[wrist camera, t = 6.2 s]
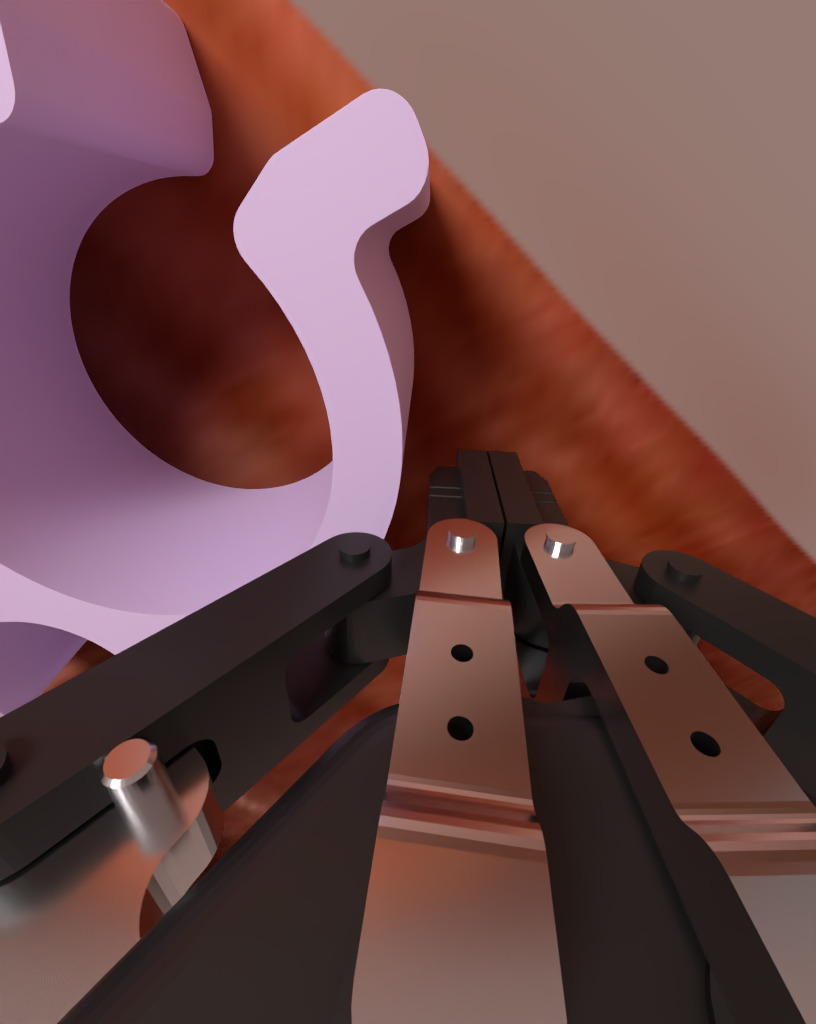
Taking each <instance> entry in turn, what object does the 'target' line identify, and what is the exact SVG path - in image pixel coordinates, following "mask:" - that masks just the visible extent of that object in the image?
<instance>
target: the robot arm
mask: <svg viewBox="0 0 816 1024" xmlns="http://www.w3.org/2000/svg"><path fill="white" fill-rule="evenodd" d="M700 638H702V639H704V640H706V641H707V642H709V643H710V644H712V645H714V646H715V647H717V648H719V649H720V650H722V651H723V652H725V653H727V654H728V655H730V656H731V657H733V658H735V659H736V660H738V661H739V662H741V663H743V664H744V665H746V666H748V667H749V668H751V669H752V670H754V671H756V672H757V673H759V674H760V675H762V676H764V677H765V678H767V679H768V680H770V681H771V682H772V683H773V684H775V685H776V687H777V688H778V689H779V690H780V692H781V693H782V695H783V697H784V701H785V706H784V709H782V710H779V711H770V710H766V709H763V708H761V707H759V706H757V705H755V704H754V703H752V702H751V701H749V700H748V699H746V698H745V697H743V696H742V695H740V694H739V693H737V692H736V691H734V690H733V689H731V688H730V687H728V686H727V685H725V684H724V683H723V682H722V681H721V679H720V678H719V677H718V675H717V674H716V673H715V671H714V670H713V669H712V667H711V666H710V665H709V663H708V662H707V660H706V659H705V658H704V656H703V655H702V654H701V652H700V651H699V650H698V648H697V647H696V645H697V643H698V642H699V640H700ZM405 654H407V657H406V664H405V670H404V677H403V683H402V690H401V696H400V703H399V704H396V705H393V706H390V707H387V708H385V709H382V710H380V711H378V712H376V713H374V714H372V715H370V716H369V717H367V718H365V719H364V720H362V721H360V722H359V723H357V724H356V725H355V726H353V727H352V728H351V729H349V730H348V731H347V732H346V733H344V734H343V735H342V736H341V737H340V738H339V739H338V740H337V741H336V742H335V743H334V744H333V745H332V746H331V747H330V748H329V749H328V750H327V751H326V752H325V753H324V754H323V755H322V756H321V757H320V758H319V759H318V760H317V761H316V762H315V763H314V764H313V765H312V766H311V767H310V768H309V769H308V770H307V771H306V772H305V773H304V774H303V775H302V776H301V777H300V778H299V779H298V780H297V781H296V782H295V783H294V784H293V785H292V786H291V787H290V789H289V790H288V791H287V792H286V793H285V794H284V795H283V796H282V797H281V798H280V799H279V800H278V801H277V802H276V803H275V804H274V805H273V806H272V807H271V808H270V809H269V810H268V811H267V812H266V813H265V814H264V815H263V816H262V817H261V818H260V819H259V820H258V821H257V822H256V823H255V824H254V825H253V826H252V827H251V828H250V829H249V830H248V831H247V832H246V833H245V834H244V835H243V836H242V837H241V838H240V839H239V840H238V841H237V842H236V843H235V844H234V845H233V846H232V847H231V848H230V849H229V850H228V851H227V852H226V853H225V854H224V855H223V856H222V857H221V858H220V859H219V860H218V861H217V862H216V863H215V864H214V865H213V866H212V867H211V868H210V869H209V870H208V871H207V872H206V873H205V874H204V875H203V876H202V877H201V878H200V879H199V880H198V881H197V882H196V884H195V885H194V886H193V887H192V888H191V889H190V890H189V891H188V892H187V893H186V891H187V890H188V889H189V887H190V886H191V885H192V884H193V882H194V881H195V880H196V879H197V878H198V876H199V875H200V874H201V873H202V872H203V871H204V869H205V868H206V867H207V865H208V864H209V862H210V861H211V859H212V858H213V856H214V854H215V852H216V850H217V848H218V845H219V842H220V839H221V836H222V831H223V812H224V811H225V810H226V809H227V808H229V807H230V806H231V805H232V804H233V803H234V802H235V801H236V800H238V799H239V798H240V797H241V796H242V795H243V794H244V793H245V792H247V791H248V790H249V789H250V788H251V787H252V786H253V785H254V784H256V783H257V782H258V781H259V780H260V779H261V778H262V777H264V776H265V775H266V774H267V773H268V772H269V771H270V770H271V769H273V768H274V767H275V766H276V765H277V764H278V763H279V762H280V761H282V760H283V759H284V758H285V757H286V756H287V755H288V754H289V753H291V752H292V751H293V750H294V749H295V748H296V747H297V746H298V745H300V744H301V743H302V742H303V741H304V740H305V739H306V738H308V737H309V736H310V735H311V734H312V733H313V732H314V731H315V730H317V729H318V728H319V727H320V726H321V725H322V724H323V723H324V722H326V721H327V720H328V719H329V718H330V717H331V716H332V715H333V714H335V713H336V712H337V711H338V710H339V709H340V708H341V707H342V706H344V705H345V704H346V703H347V702H348V701H349V700H350V699H352V698H353V697H354V696H355V695H356V694H357V693H358V692H359V691H361V690H362V689H363V688H364V687H365V686H366V685H367V684H368V683H370V682H371V681H372V680H373V679H374V678H375V677H376V676H377V675H379V674H380V673H381V672H382V671H383V670H384V669H385V667H386V666H387V664H388V661H389V658H392V657H396V656H401V655H405ZM185 893H186V894H185ZM184 894H185V895H184ZM0 1024H816V618H814V617H813V616H811V615H809V614H807V613H805V612H803V611H801V610H799V609H797V608H795V607H793V606H791V605H789V604H787V603H785V602H783V601H781V600H779V599H777V598H775V597H773V596H771V595H769V594H767V593H765V592H763V591H761V590H759V589H757V588H755V587H753V586H751V585H749V584H747V583H745V582H743V581H741V580H739V579H737V578H735V577H733V576H731V575H729V574H728V573H726V572H724V571H722V570H720V569H718V568H716V567H714V566H712V565H710V564H708V563H706V562H704V561H702V560H700V559H698V558H695V557H693V556H690V555H687V554H684V553H680V552H676V551H668V550H658V551H653V552H650V553H648V554H646V555H645V556H644V558H643V559H642V562H641V565H640V567H639V568H638V567H634V566H630V565H626V564H622V563H618V562H614V561H611V560H607V559H604V557H603V556H602V554H601V553H600V551H599V550H598V548H597V547H596V545H595V544H594V542H593V541H592V540H591V539H590V538H589V537H588V536H587V535H585V534H584V533H582V532H580V531H578V530H576V529H574V528H571V527H569V526H568V524H567V522H566V520H565V518H564V516H563V514H562V512H561V509H560V507H559V505H558V503H556V499H555V497H554V495H553V494H552V490H551V488H550V486H549V484H548V482H547V481H546V480H545V479H544V478H542V477H541V476H540V475H539V474H537V473H536V472H534V471H523V469H522V467H521V464H520V461H519V459H518V456H517V454H516V453H515V452H499V451H487V452H486V451H478V450H460V449H458V452H457V459H456V467H439V466H438V467H437V468H436V469H435V470H434V471H433V472H432V473H431V474H430V478H429V492H428V506H427V520H426V538H425V539H424V540H422V541H421V542H420V543H418V544H416V545H414V546H411V547H408V548H404V549H399V550H393V551H392V550H391V547H390V546H389V544H388V543H387V542H386V541H385V540H383V539H382V538H380V537H378V536H376V535H373V534H369V533H363V532H350V533H343V534H339V535H336V536H334V537H332V538H330V539H328V540H326V541H324V542H322V543H320V544H319V545H317V546H315V547H313V548H311V549H309V550H308V551H306V552H304V553H302V554H300V555H298V556H296V557H295V558H293V559H291V560H289V561H287V562H285V563H284V564H282V565H280V566H278V567H276V568H274V569H273V570H271V571H269V572H267V573H265V574H263V575H262V576H260V577H258V578H256V579H254V580H252V581H250V582H249V583H247V584H245V585H243V586H241V587H239V588H238V589H236V590H234V591H232V592H230V593H228V594H227V595H225V596H223V597H221V598H219V599H217V600H215V601H214V602H212V603H210V604H208V605H206V606H204V607H203V608H201V609H199V610H197V611H195V612H193V613H192V614H190V615H188V616H186V617H184V618H182V619H181V620H179V621H177V622H175V623H173V624H171V625H169V626H168V627H166V628H164V629H162V630H160V631H158V632H157V633H155V634H153V635H151V636H149V637H147V638H146V639H144V640H142V641H140V642H138V643H136V644H135V645H133V646H131V647H129V648H127V649H125V650H123V651H122V652H120V653H118V654H116V655H114V656H112V657H111V658H109V659H107V660H105V661H103V662H101V663H100V664H98V665H96V666H94V667H92V668H90V669H89V670H87V671H85V672H83V673H81V674H79V675H77V676H76V677H74V678H72V679H70V680H68V681H66V682H65V683H63V684H61V685H59V686H57V687H55V688H54V689H52V690H50V691H48V692H46V693H44V694H42V695H41V696H39V697H37V698H35V699H33V700H31V701H30V702H28V703H26V704H24V705H22V706H20V707H19V708H17V709H15V710H13V711H11V712H9V713H8V714H6V715H4V716H2V717H0Z"/></svg>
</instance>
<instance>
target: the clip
mask: <svg viewBox="0 0 816 1024" xmlns="http://www.w3.org/2000/svg"><path fill="white" fill-rule="evenodd" d="M213 161H214V147H213V127H212V113H211V109H210V105H209V102H208V99H207V96H206V93H205V89H204V86H203V83H202V80H201V77H200V74H199V70H198V67H197V64H196V61H195V58H194V54H193V51H192V48H191V45H190V42H189V39H188V35H187V32H186V29H185V27H184V24H183V22H182V20H181V19H180V17H179V16H178V15H177V13H176V12H175V11H174V10H173V9H172V8H170V7H169V6H168V5H167V4H166V3H165V2H164V1H162V0H0V717H2V716H4V715H6V714H8V713H9V712H11V711H13V710H15V709H17V708H19V707H20V706H22V705H24V704H26V703H28V702H30V701H31V700H33V699H35V698H37V697H39V696H40V695H41V694H42V693H43V691H44V690H45V689H46V688H47V687H48V686H49V684H50V683H51V682H52V681H53V680H54V678H55V677H56V676H57V675H58V674H59V673H60V671H61V670H62V669H63V668H64V667H65V666H66V664H67V663H68V662H69V661H70V660H71V659H72V657H73V656H74V655H75V654H76V653H77V651H78V650H79V649H80V648H81V647H82V646H83V644H84V643H85V642H86V641H87V640H90V641H92V642H94V643H96V644H98V645H99V646H101V647H103V648H105V649H106V650H108V651H110V652H111V653H113V654H114V655H116V654H118V653H120V652H122V651H123V650H125V649H127V648H129V647H131V646H133V645H135V644H136V643H138V642H140V641H142V640H144V639H146V638H147V637H149V636H151V635H153V634H155V633H157V632H158V631H160V630H162V629H164V628H166V627H168V626H169V625H171V624H173V623H175V622H177V621H179V620H181V619H182V618H184V617H186V616H188V615H190V614H192V613H193V612H195V611H197V610H199V609H201V608H203V607H204V606H206V605H208V604H210V603H212V602H214V601H215V600H217V599H219V598H221V597H223V596H225V595H227V594H228V593H230V592H232V591H234V590H236V589H238V588H239V587H241V586H243V585H245V584H247V583H249V582H250V581H252V580H254V579H256V578H258V577H260V576H262V575H263V574H265V573H267V572H269V571H271V570H273V569H274V568H276V567H278V566H280V565H282V564H284V563H285V562H287V561H289V560H291V559H293V558H295V557H296V556H298V555H300V554H302V553H304V552H306V551H308V550H309V549H311V548H313V547H315V546H317V545H319V544H320V543H322V542H324V541H326V540H328V539H330V538H332V537H334V536H336V535H339V534H343V533H350V532H363V533H369V534H373V535H376V536H378V537H380V538H382V539H384V537H385V535H386V533H387V530H388V527H389V525H390V522H391V519H392V516H393V512H394V508H395V505H396V501H397V496H398V491H399V485H400V478H401V471H402V463H403V455H404V448H405V440H406V432H407V425H408V417H409V409H410V402H411V394H412V386H413V377H414V343H413V333H412V326H411V320H410V315H409V311H408V306H407V303H406V299H405V296H404V292H403V289H402V286H401V283H400V281H399V278H398V275H397V273H396V270H395V268H394V266H393V263H392V261H391V258H390V256H389V243H390V240H391V238H392V236H393V235H394V233H395V232H396V231H398V230H399V229H401V228H403V227H404V226H406V225H408V224H409V223H411V222H413V221H415V220H416V219H418V218H420V217H421V216H422V215H423V214H424V213H425V212H426V210H427V208H428V206H429V203H430V179H429V161H428V150H427V147H426V143H425V140H424V137H423V134H422V131H421V128H420V126H419V123H418V120H417V118H416V116H415V114H414V111H413V109H412V108H411V106H410V105H409V104H408V103H407V101H406V100H405V99H404V98H403V97H401V96H400V95H399V94H398V93H395V92H393V91H391V90H387V89H374V90H370V91H368V92H366V93H364V94H362V95H361V96H359V97H358V98H356V99H355V100H354V101H352V102H351V103H349V104H348V105H346V106H345V107H343V108H342V109H340V110H339V111H337V112H336V113H334V114H333V115H331V116H330V117H328V118H327V119H325V120H324V121H322V122H321V123H320V124H318V125H317V126H315V127H314V128H312V129H311V130H309V131H308V132H306V133H305V134H303V135H302V136H300V137H299V138H297V139H296V140H294V141H293V142H291V143H290V144H289V145H287V146H286V147H284V148H283V149H281V150H280V151H278V152H277V153H275V154H274V155H273V156H272V157H271V158H270V159H269V161H268V162H267V164H266V165H265V167H264V168H263V170H262V172H261V173H260V175H259V176H258V178H257V180H256V181H255V183H254V184H253V186H252V187H251V189H250V191H249V192H248V194H247V195H246V197H245V199H244V200H243V202H242V203H241V205H240V206H239V208H238V210H237V212H236V215H235V219H234V226H233V232H234V239H235V243H236V246H237V249H238V251H239V253H240V254H241V256H242V258H243V259H244V260H245V262H246V263H247V264H248V265H249V267H250V268H251V269H252V270H253V271H254V273H255V274H256V275H257V276H258V277H259V279H260V280H261V281H262V282H263V283H264V285H265V286H266V288H267V289H268V290H269V292H270V293H271V295H272V296H273V297H274V299H275V300H276V301H277V303H278V304H279V306H280V307H281V309H282V310H283V312H284V314H285V315H286V317H287V318H288V320H289V322H290V323H291V325H292V326H293V328H294V330H295V332H296V334H297V336H298V338H299V339H300V341H301V343H302V345H303V347H304V349H305V351H306V353H307V356H308V358H309V360H310V362H311V365H312V367H313V369H314V372H315V375H316V377H317V380H318V383H319V386H320V388H321V391H322V395H323V399H324V402H325V406H326V409H327V414H328V419H329V424H330V429H331V438H332V446H333V461H332V462H331V463H330V464H328V465H327V466H326V467H324V468H323V469H322V470H320V471H319V472H317V473H315V474H314V475H312V476H310V477H308V478H306V479H304V480H301V481H298V482H296V483H293V484H289V485H286V486H281V487H276V488H269V489H239V488H232V487H226V486H221V485H217V484H213V483H210V482H207V481H204V480H201V479H198V478H196V477H193V476H191V475H189V474H186V473H184V472H182V471H180V470H178V469H176V468H175V467H173V466H171V465H169V464H168V463H166V462H165V461H163V460H161V459H160V458H158V457H157V456H156V455H154V454H153V453H152V452H150V451H149V450H148V449H146V448H145V447H144V446H143V445H142V444H140V443H139V442H138V441H137V440H136V439H135V438H134V437H133V436H132V435H131V434H130V433H129V432H128V431H127V430H126V429H125V428H124V427H123V426H122V425H121V424H120V423H119V422H118V420H117V419H116V418H115V417H114V416H113V414H112V413H111V412H110V410H109V409H108V408H107V406H106V405H105V403H104V402H103V400H102V399H101V398H100V396H99V394H98V393H97V391H96V389H95V388H94V386H93V384H92V382H91V380H90V378H89V376H88V374H87V372H86V370H85V367H84V365H83V363H82V360H81V357H80V354H79V352H78V348H77V345H76V341H75V337H74V333H73V328H72V322H71V315H70V282H71V274H72V269H73V264H74V261H75V257H76V254H77V251H78V248H79V246H80V244H81V241H82V239H83V237H84V235H85V233H86V232H87V230H88V228H89V227H90V225H91V224H92V222H93V221H94V220H95V218H96V217H97V216H98V215H99V214H100V212H101V211H102V210H103V209H104V208H105V207H106V206H108V205H109V204H110V203H111V202H112V201H113V200H115V199H116V198H117V197H119V196H120V195H122V194H123V193H125V192H127V191H128V190H130V189H132V188H134V187H137V186H139V185H141V184H143V183H147V182H150V181H153V180H157V179H162V178H167V177H177V176H202V175H205V174H206V173H208V172H209V170H210V169H211V167H212V165H213Z"/></svg>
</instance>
